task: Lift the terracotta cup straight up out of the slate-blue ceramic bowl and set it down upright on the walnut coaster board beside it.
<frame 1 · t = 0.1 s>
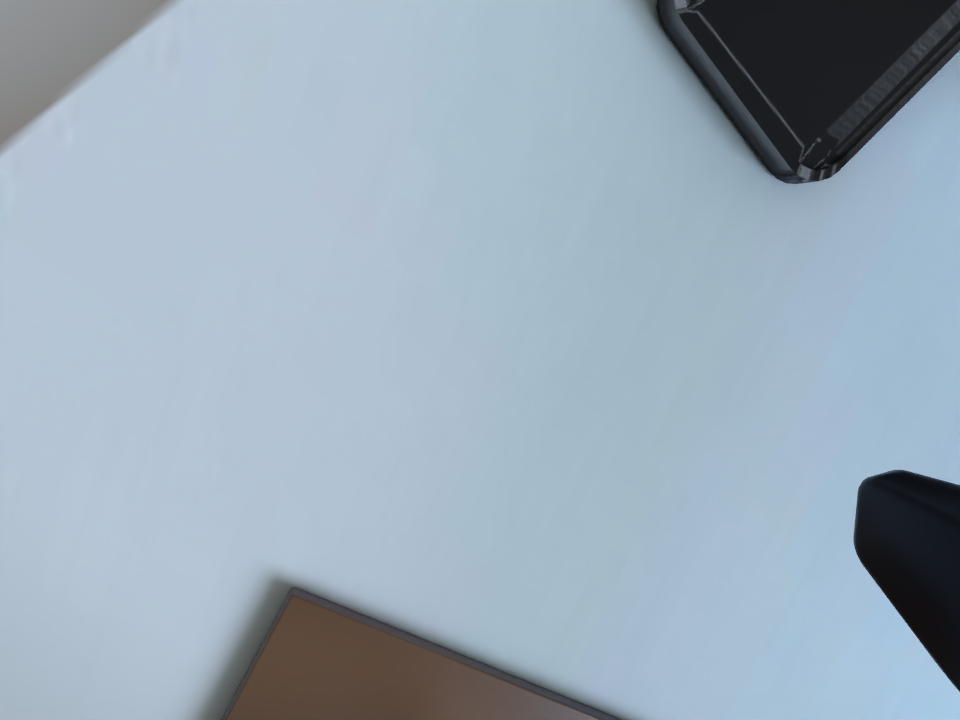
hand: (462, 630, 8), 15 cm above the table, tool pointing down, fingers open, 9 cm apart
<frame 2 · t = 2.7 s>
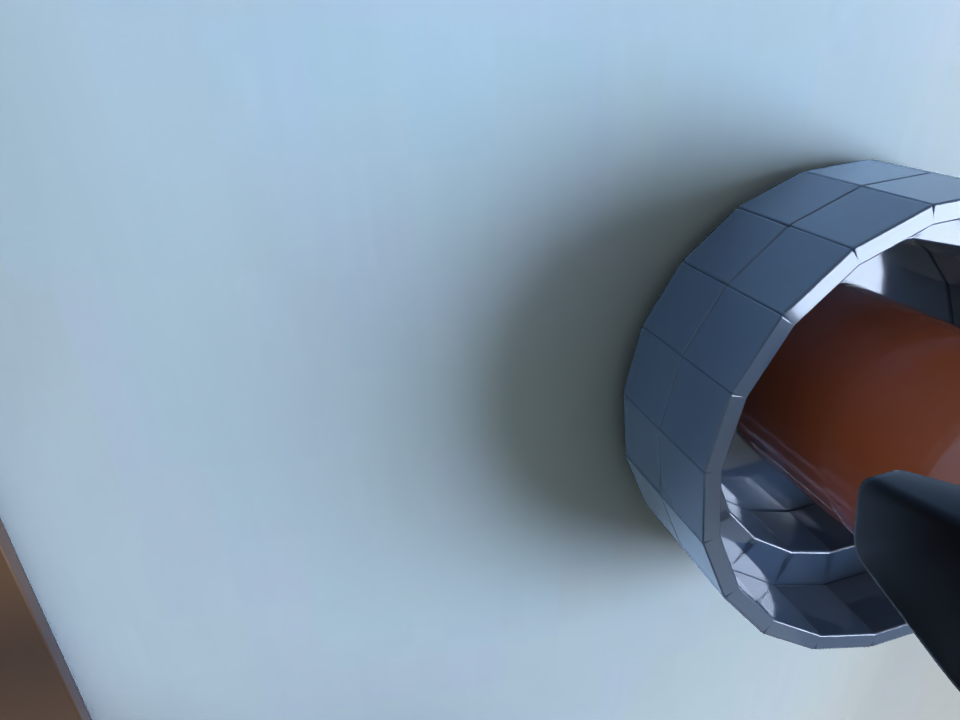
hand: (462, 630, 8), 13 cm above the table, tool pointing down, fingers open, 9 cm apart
cup: (918, 439, 20), in the bowl
bowl: (807, 370, 24), on the table
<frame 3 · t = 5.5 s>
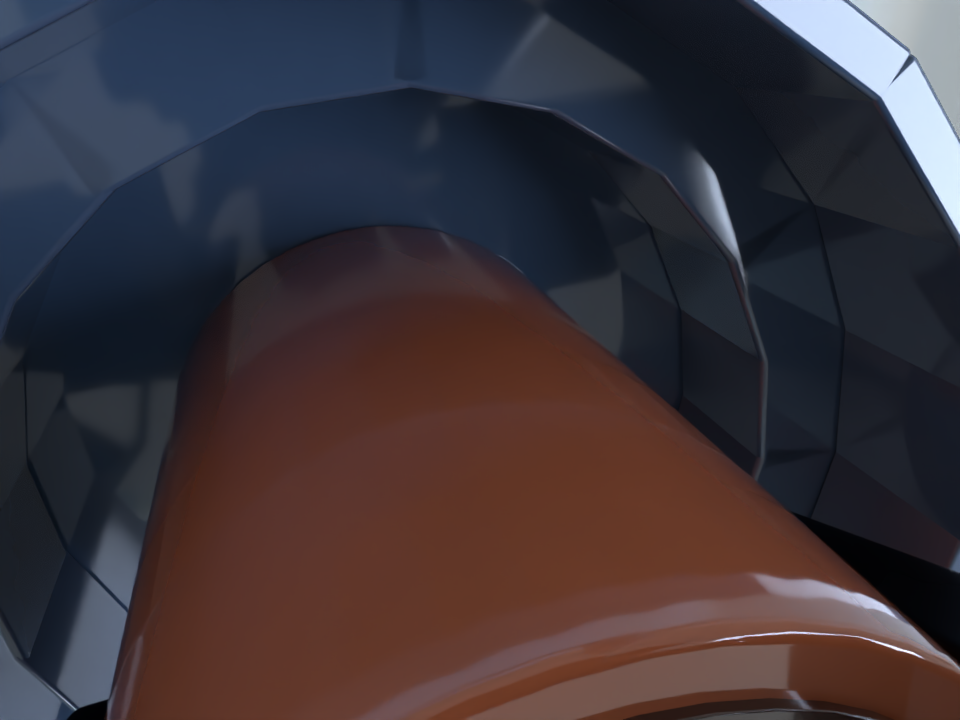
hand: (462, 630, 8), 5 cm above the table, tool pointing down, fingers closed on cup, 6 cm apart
cup: (448, 598, 8), in the bowl, touching gripper
bowl: (383, 408, 12), on the table
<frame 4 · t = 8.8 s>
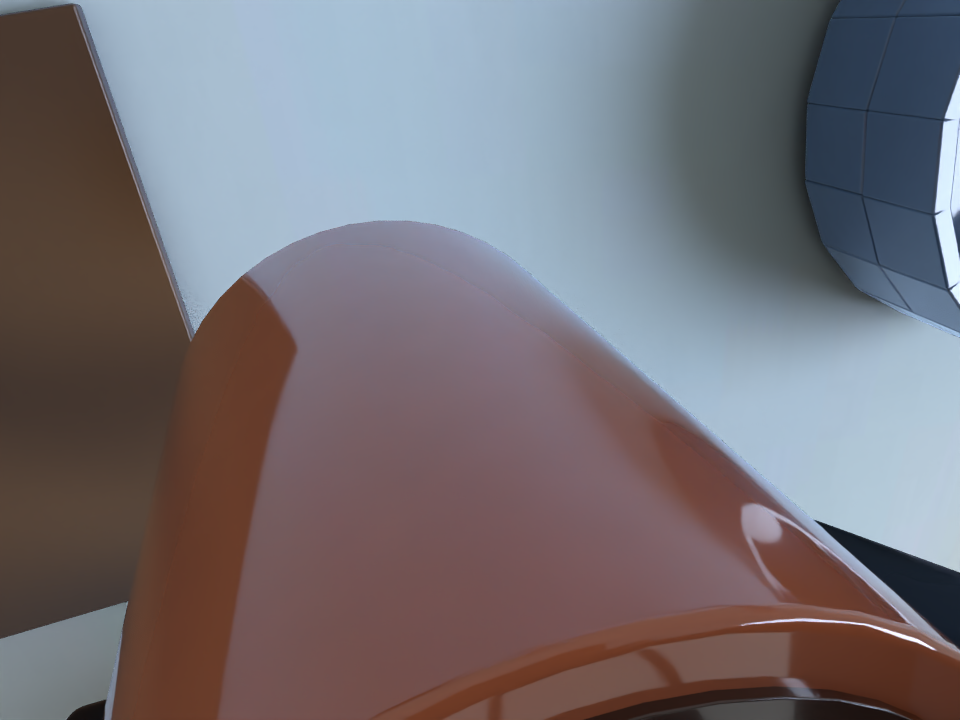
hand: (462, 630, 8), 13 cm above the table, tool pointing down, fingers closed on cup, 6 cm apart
cup: (449, 593, 8), point 12 cm above the table, touching gripper
when the fingers open (5 cm above the table, at t = 12.1 s): cup stays where it is, resting on coaster board.
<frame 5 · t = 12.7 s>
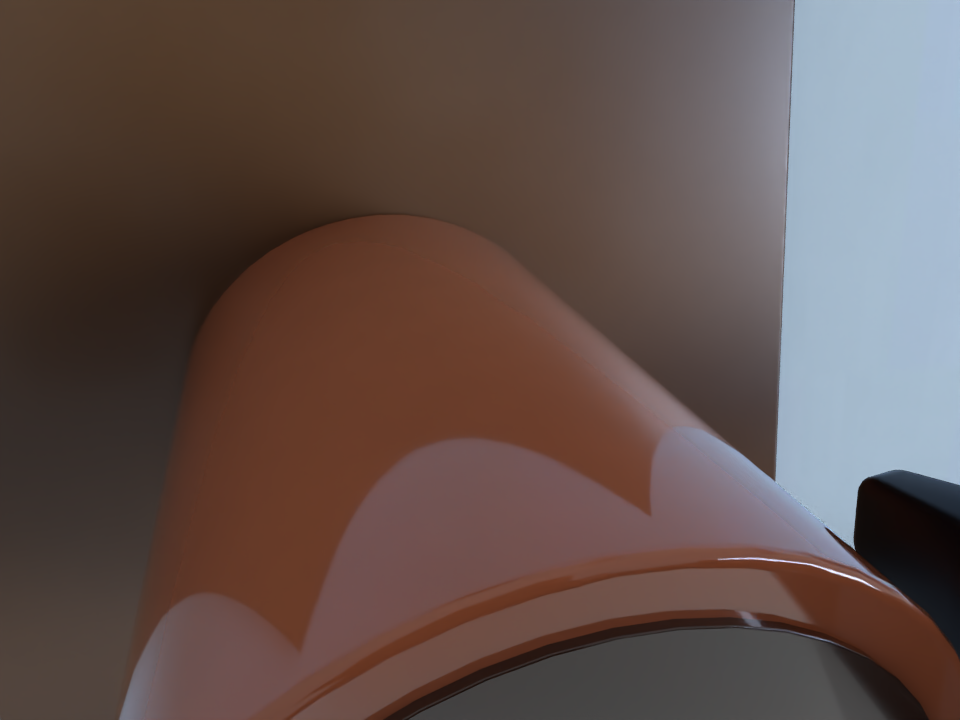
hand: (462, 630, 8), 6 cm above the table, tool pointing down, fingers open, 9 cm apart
cup: (445, 565, 8), on the coaster board, point 5 cm above the table
coaster board: (380, 393, 13), on the table
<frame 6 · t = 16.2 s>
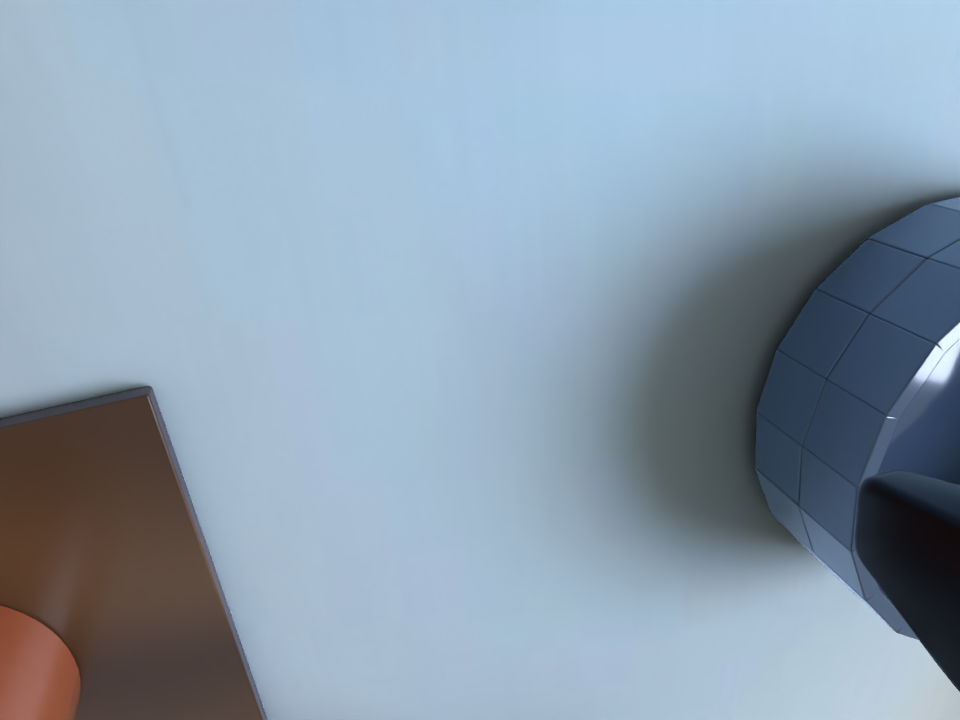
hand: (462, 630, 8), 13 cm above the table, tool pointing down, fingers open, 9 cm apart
bowl: (918, 385, 26), on the table
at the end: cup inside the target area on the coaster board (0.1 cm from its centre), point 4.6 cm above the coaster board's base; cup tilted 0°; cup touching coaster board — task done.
